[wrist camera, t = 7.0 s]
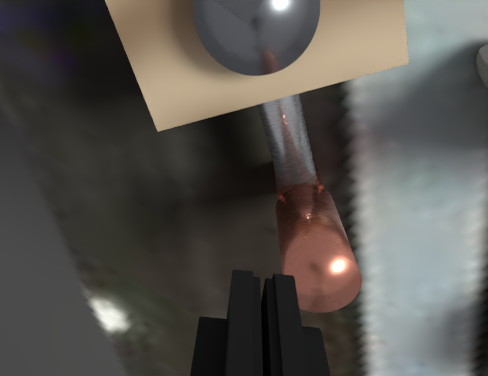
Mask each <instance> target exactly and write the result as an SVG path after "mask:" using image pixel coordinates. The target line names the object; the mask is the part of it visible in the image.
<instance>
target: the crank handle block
mask: <svg viewBox="0 0 488 376" xmlns="http://www.w3.org/2000/svg"><path fill="white" fill-rule="evenodd" d="M319 17H320V0H193V18H194V24H195V27H196V31H197V34H198V36H199V38H200V40H201V42H202V44H203V46H204V47H205V49H206V50H207V51H208V53H209V54H210V55H211V56H212V57H213V58H214V59H215V60H216V61H217V62H218V63H220V64H221V65H222V66H224V67H225V68H227V69H229V70H231V71H233V72H236V73H239V74H243V75H249V76H262V75H268V74H272V73H275V72H278V71H280V70H283V69H284V68H286V67H288V66H289V65H291V64H292V63H293V62H295V61H296V60H297V59H298V58H299V57H300V56H301V55H302V54H303V53H304V51H305V50H306V49H307V47H308V46H309V44H310V43H311V41H312V39H313V37H314V34H315V32H316V29H317V26H318V22H319Z"/></svg>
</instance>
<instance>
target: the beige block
mask: <svg viewBox="0 0 488 376" xmlns="http://www.w3.org/2000/svg"><path fill="white" fill-rule="evenodd" d="M105 2H106V4H107V7H108V9H109V12H110V14H111V17H112V19H113V22H114V24H115V27H116V29H117V32H118V34H119V37H120V39H121V42H122V44H123V47H124V49H125V51H126V54H127V56H128V59H129V61H130V64H131V66H132V69H133V71H134V74H135V76H136V79H137V81H138V84H139V86H140V89H141V91H142V94H143V96H144V99H145V101H146V104H147V106H148V108H149V111H150V113H151V116H152V118H153V121H154V123H155V126H156V128H157V131H162V130H166V129H169V128H173V127H177V126H180V125H184V124H188V123H191V122H195V121H199V120H202V119H206V118H210V117H214V116H217V115H221V114H225V113H228V112H232V111H236V110H239V109H243V108H247V107H250V106H254V105H258V104H261V103H265V102H269V101H272V100H276V99H280V98H284V97H287V96H291V95H295V94H298V93H302V92H306V91H309V90H313V89H317V88H320V87H324V86H328V85H331V84H335V83H339V82H343V81H346V80H350V79H354V78H357V77H361V76H365V75H368V74H372V73H376V72H379V71H383V70H387V69H390V68H394V67H398V66H402V65H405V64H409V61H408V48H407V36H406V24H405V12H404V0H320V17H319V22H318V26H317V29H316V32H315V34H314V37H313V39H312V41H311V43H310V44H309V46H308V47H307V49H306V50H305V51H304V53H303V54H302V55H301V56H300V57H299V58H298V59H297V60H296V61H295V62H293V63H292V64H291V65H289V66H288V67H286V68H284V69H283V70H280V71H278V72H275V73H272V74H268V75H262V76H249V75H243V74H239V73H236V72H233V71H231V70H229V69H227V68H225V67H224V66H222V65H221V64H220V63H218V62H217V61H216V60H215V59H214V58H213V57H212V56H211V55H210V54H209V53H208V51H207V50H206V49H205V47H204V46H203V44H202V42H201V40H200V38H199V36H198V34H197V31H196V27H195V24H194V18H193V0H105Z"/></svg>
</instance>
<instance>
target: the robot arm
mask: <svg viewBox="0 0 488 376" xmlns="http://www.w3.org/2000/svg"><path fill="white" fill-rule="evenodd" d="M190 376H330V371H329V367H328V362H327V357H326V352H325V347H324V342H323V337H322V333H321V330H320V329H319V328H315V327H304V326H302V324H301V317H300V311H299V304H298V297H297V291H296V284H295V278H294V276H293V275H283V274H273V277H272V279H269V278H266V279H265V283H264V289H263V294H262V300H261V294H260V278H259V277H253V272H252V271H243V270H233V272H232V280H231V288H230V296H229V304H228V312H227V319H221V318H210V317H200V318H199V323H198V330H197V336H196V342H195V349H194V355H193V362H192V368H191V374H190Z"/></svg>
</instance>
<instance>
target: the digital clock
mask: <svg viewBox="0 0 488 376" xmlns="http://www.w3.org/2000/svg"><path fill="white" fill-rule="evenodd" d="M476 65H477V69H478V73H479V75H480V77H481V79H482V81H483V83H484V84H485V86H486V87H487V89H488V44H487V45H485V46H483V47H481V48H480V49H479V52H478V54H477V57H476Z"/></svg>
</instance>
